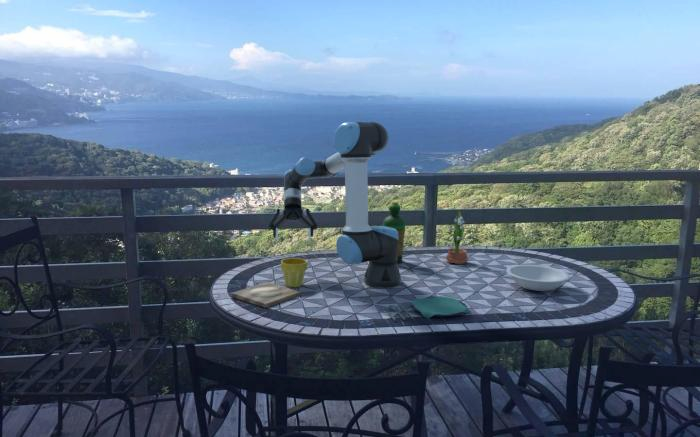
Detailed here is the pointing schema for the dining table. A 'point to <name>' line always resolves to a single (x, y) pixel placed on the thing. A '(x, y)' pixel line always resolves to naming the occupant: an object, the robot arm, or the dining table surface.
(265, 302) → the trivet board
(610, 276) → the dining table surface
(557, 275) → the soup bowl
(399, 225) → the bottle
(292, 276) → the plant pot
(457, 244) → the potted flower
